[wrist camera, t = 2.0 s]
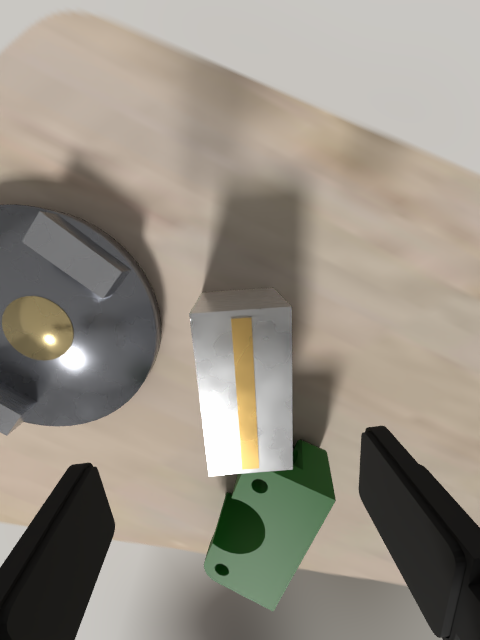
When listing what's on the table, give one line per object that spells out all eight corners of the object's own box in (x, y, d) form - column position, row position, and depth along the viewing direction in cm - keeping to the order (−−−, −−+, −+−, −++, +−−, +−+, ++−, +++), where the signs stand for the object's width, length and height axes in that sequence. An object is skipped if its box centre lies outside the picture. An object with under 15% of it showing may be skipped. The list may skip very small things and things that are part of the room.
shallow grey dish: (1, 152, 15) (-52, 131, 13) (203, 307, 19) (198, 318, 16) (-97, 337, 18) (-158, 355, 15) (92, 445, 21) (70, 476, 19)
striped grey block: (272, 287, 18) (292, 307, 13) (275, 408, 21) (293, 470, 15) (202, 291, 18) (188, 314, 13) (214, 413, 21) (208, 477, 15)
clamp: (256, 411, 26) (256, 434, 17) (312, 435, 26) (344, 472, 17) (209, 534, 25) (184, 630, 16) (269, 564, 24) (278, 682, 15)
